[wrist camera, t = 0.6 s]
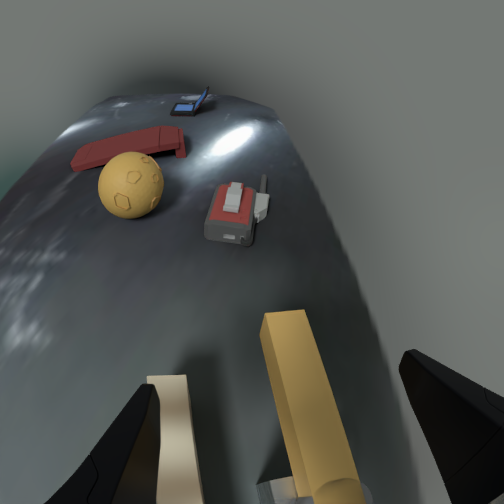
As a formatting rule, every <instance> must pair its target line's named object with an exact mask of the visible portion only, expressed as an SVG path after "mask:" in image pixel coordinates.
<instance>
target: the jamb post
mask: <svg viewBox="0 0 504 504" xmlns="http://www.w3.org/2000/svg"><path fill="white" fill-rule="evenodd" d="M256 487H257V491H258V496H259V500H260V504H296V501H297V499H298V494H297V490H296V486H295V482H294V478H293V476H290V477H285V478H280V479H275V480H270V481H267V482H264V483H260V484H257V485H256Z"/></svg>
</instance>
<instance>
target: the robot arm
mask: <svg viewBox="0 0 504 504" xmlns="http://www.w3.org/2000/svg"><path fill="white" fill-rule="evenodd" d="M399 373H400V376H401V379H402V381H403V384H404V387H405V390H406V393H407V396H408V399H409V401H410V404H411V406H412V409H413V411H414V413H415V415H416V417H417V420H418V422H419V424H420V426H421V428H422V431H423V433H424V435H425V437H426V440H427V442H428V445H429V447H430V449H431V452H432V454H433V456H434V459H435V461H436V464H437V466H438V469H439V471H440V474H441V476H442V479H443V481H444V483H445V487H446V490H447V492H448V495H449V498H450V501H451V503H452V504H504V397H502V396H500V395H498V394H496V393H494V392H492V391H490V390H488V389H486V388H483V387H482V386H481V385H479V384H477V383H475V382H473V381H471V380H470V379H468V378H466V377H464V376H462V375H461V374H459V373H457V372H455V371H454V370H452V369H450V368H448V367H446V366H445V365H443V364H441V363H439V362H437V361H436V360H434V359H432V358H430V357H428V356H427V355H425V354H423V353H421V352H419V351H418V350H416V349H412V350H408V351H405V353H404V354H403V357H402V360H401V362H400V365H399ZM160 448H161V422H160V399H159V396H158V393H157V390H156V388H155V385H154V384H142V385H141V386H140V387H139V388H138V390H137V391H136V392H135V394H134V395H133V396H132V397H131V399H130V400H129V401H128V403H127V404H126V405H125V407H124V408H123V409H122V411H121V412H120V413H119V415H118V416H117V417H116V419H115V420H114V421H113V423H112V424H111V425H110V427H109V428H108V429H107V431H106V432H105V433H104V435H103V436H102V437H101V439H100V440H99V441H98V443H97V444H96V446H95V447H94V448H93V450H92V451H91V452H90V455H88V456H87V457H86V459H85V460H84V461H83V463H82V464H81V465H80V467H79V468H78V469H77V470H76V472H75V473H74V474H73V475H72V476H71V477H70V478H69V479H68V480H67V481H66V482H65V483H64V484H63V486H62V487H61V488H60V489H59V490H58V491H57V492H56V493H55V494H54V495H53V496H52V497H51V498H50V499H49V500H48V501H47V502H45V503H44V504H156V496H157V482H158V470H159V458H160Z"/></svg>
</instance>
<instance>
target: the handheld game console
mask: <svg viewBox="0 0 504 504" xmlns="http://www.w3.org/2000/svg"><path fill="white" fill-rule="evenodd" d="M208 90H209V87H207V88H206V90H205V91H204V93H203V94H202V95H201V97H200V98H199V99H198V101H196V102H195V103H176V104H175V105H174V107H173V109H172V111H171V113H170V115H171V116H195V112H196V110H197V109H198V108H199V106H200V105H201V104H202V102H203V101H204V99H205V98H206V97H207V95H208Z"/></svg>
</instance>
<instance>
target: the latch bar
mask: <svg viewBox="0 0 504 504" xmlns="http://www.w3.org/2000/svg"><path fill="white" fill-rule="evenodd" d="M259 336H260V340H261V344H262V349H263V353H264V357H265V361H266V366H267V370H268V374H269V378H270V383H271V387H272V391H273V395H274V400H275V404H276V408H277V412H278V416H279V420H280V425H281V429H282V433H283V437H284V441H285V445H286V449H287V453H288V457H289V461H290V466H291V470H292V474H293V478H294V482H295V486H296V490H297V494H298V499H297V501H296V504H373V498H372V494H371V492H370V490H369V489H368V487H367V486H366V485H365V484H363V483H362V482H360V480H359V477H358V473H357V470H356V467H355V463H354V460H353V457H352V453H351V450H350V447H349V444H348V440H347V437H346V434H345V431H344V428H343V424H342V421H341V418H340V415H339V412H338V409H337V405H336V402H335V399H334V396H333V393H332V390H331V387H330V384H329V381H328V378H327V375H326V372H325V369H324V366H323V363H322V360H321V357H320V354H319V351H318V348H317V345H316V342H315V339H314V336H313V333H312V330H311V328H310V325H309V322H308V319H307V316H306V313H305V310H304V309H303V310H293V311H283V312H272V313H265V315H264V319H263V323H262V327H261V330H260V334H259Z"/></svg>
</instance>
